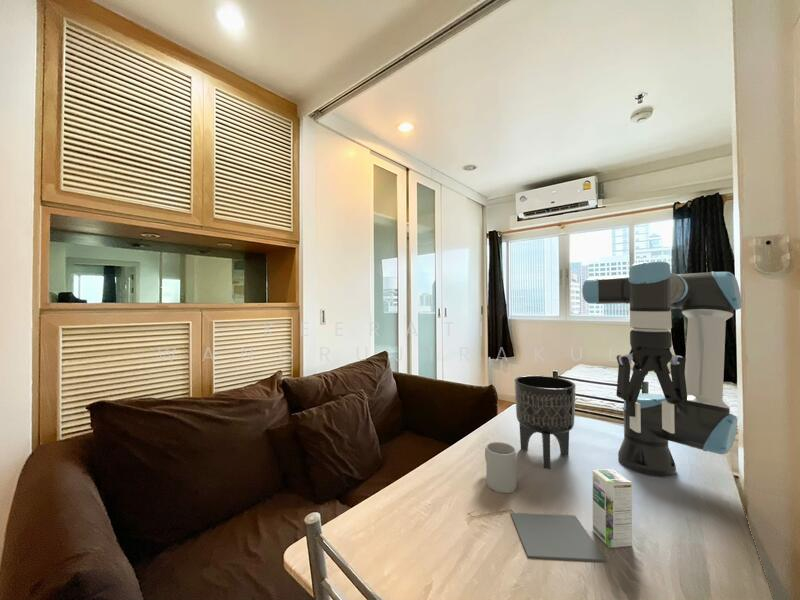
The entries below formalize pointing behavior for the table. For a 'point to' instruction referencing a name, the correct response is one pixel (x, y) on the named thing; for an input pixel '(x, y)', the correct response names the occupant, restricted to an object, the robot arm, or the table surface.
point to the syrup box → (612, 508)
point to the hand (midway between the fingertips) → (651, 430)
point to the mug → (500, 467)
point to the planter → (545, 411)
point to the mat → (555, 537)
